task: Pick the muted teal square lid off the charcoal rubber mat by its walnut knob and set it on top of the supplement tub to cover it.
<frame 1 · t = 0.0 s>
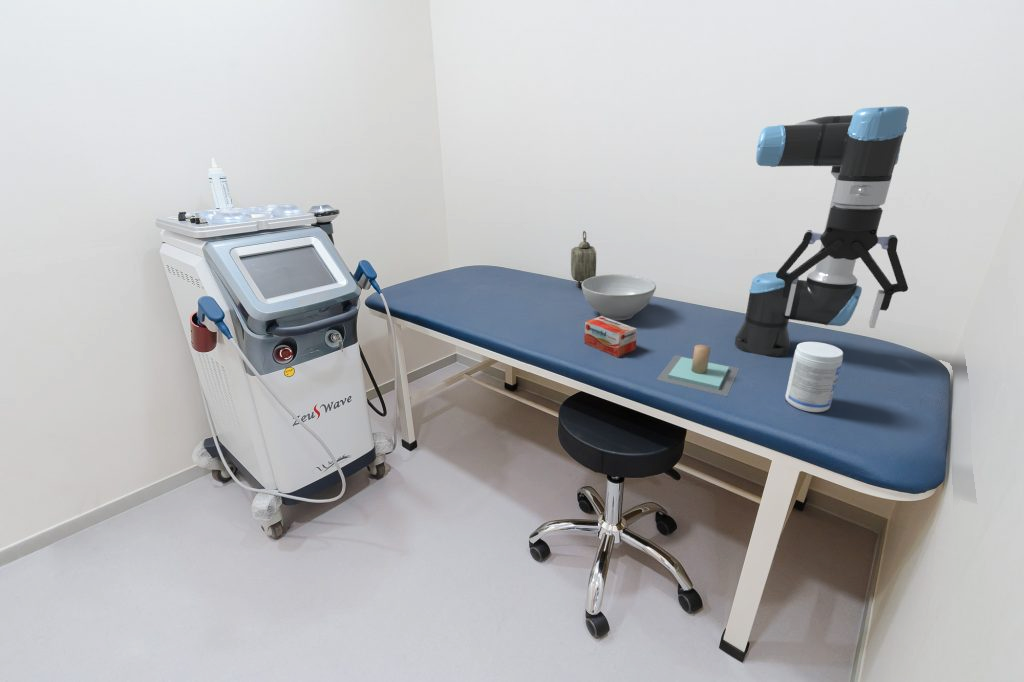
hand: (827, 319, 89), 28 cm above the table, tool pointing down, fingers open, 13 cm apart
medicine box: (608, 348, 148), on the table
supplement tub: (806, 404, 114), on the table
decorative bowl: (616, 315, 175), on the table
grey hanging weight: (582, 287, 209), on the table
lid: (698, 373, 128), resting on mat
mat: (698, 375, 129), on the table
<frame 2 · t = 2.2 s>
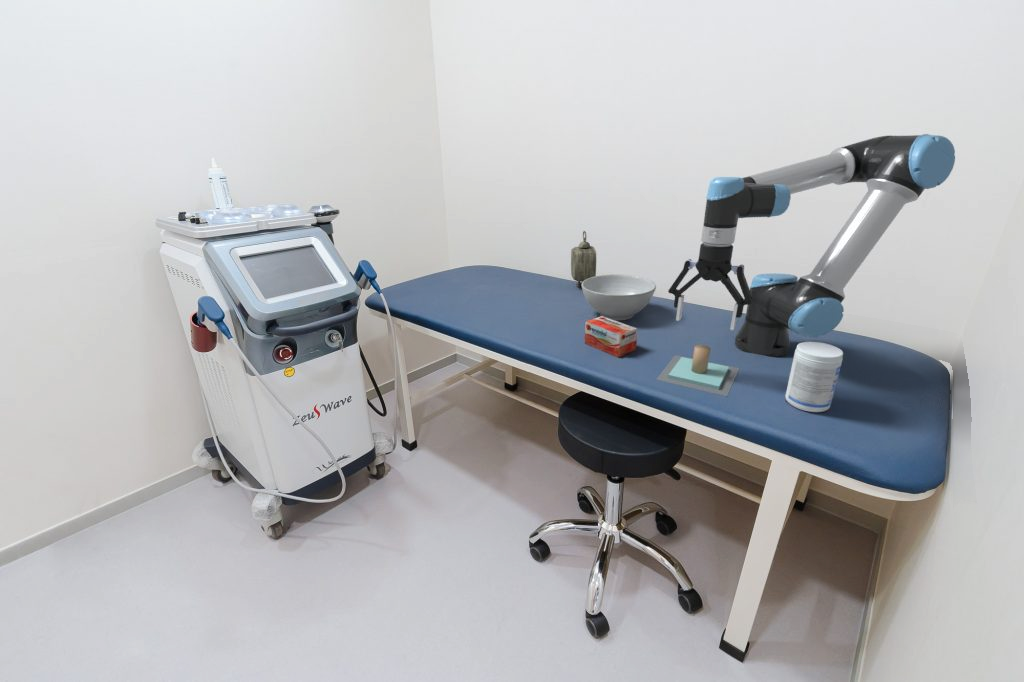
hand: (704, 323, 122), 15 cm above the table, tool pointing down, fingers open, 13 cm apart
nothing on the table moved.
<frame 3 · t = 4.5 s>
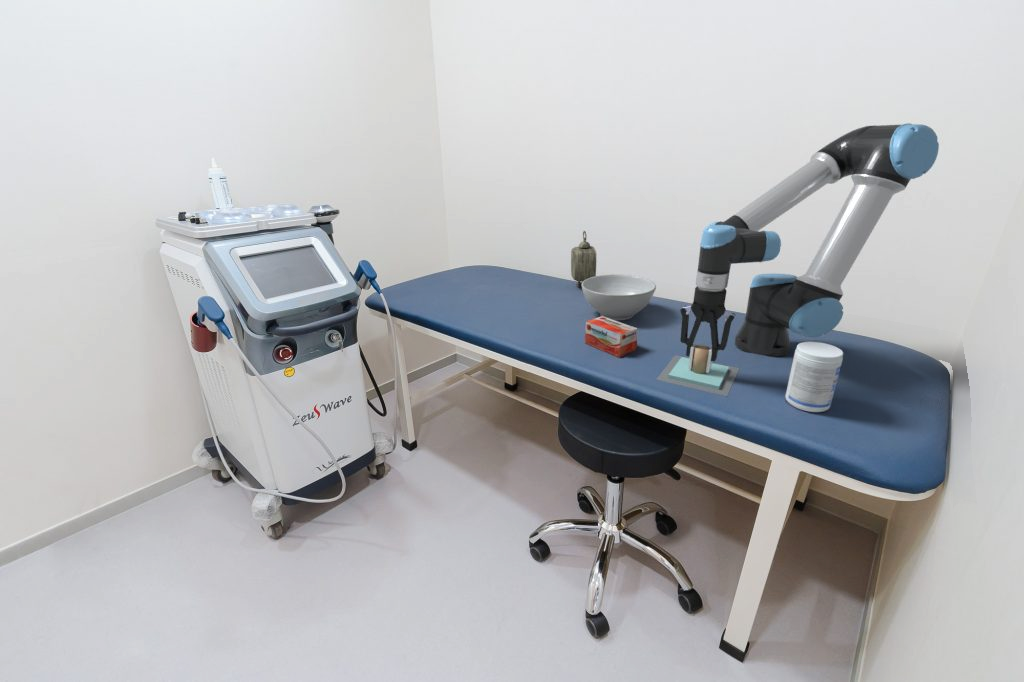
hand: (699, 368, 128), 2 cm above the table, tool pointing down, fingers closed on lid, 4 cm apart
lid: (698, 373, 128), resting on mat, touching gripper
everything else where it was.
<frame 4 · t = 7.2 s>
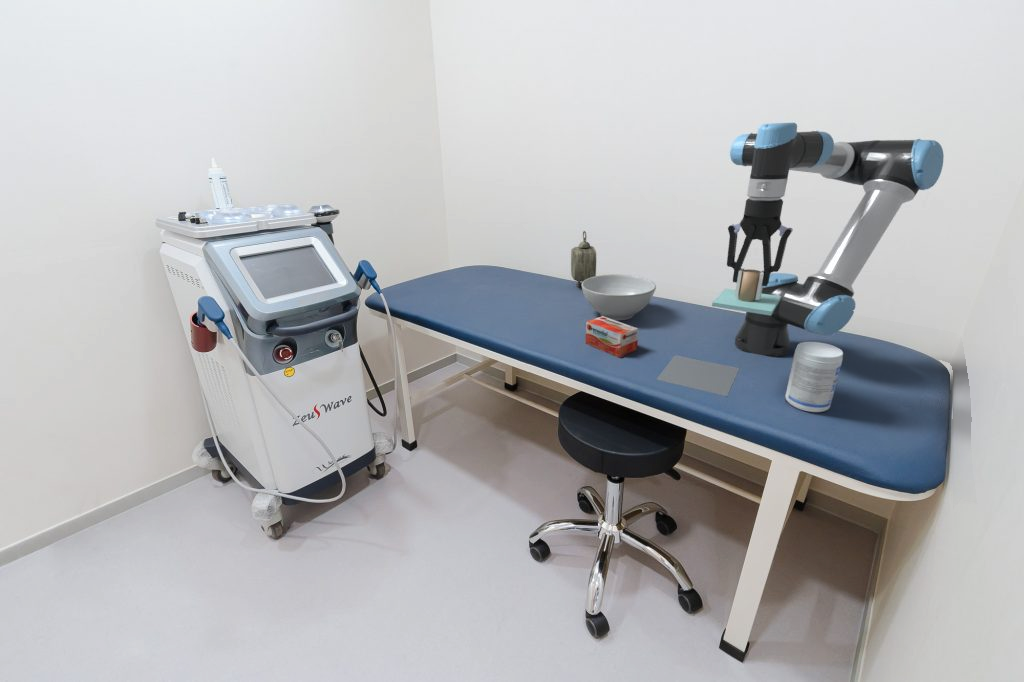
hand: (747, 296, 114), 25 cm above the table, tool pointing down, fingers closed on lid, 4 cm apart
lid: (746, 303, 114), point 23 cm above the table, touching gripper
everything else where it was.
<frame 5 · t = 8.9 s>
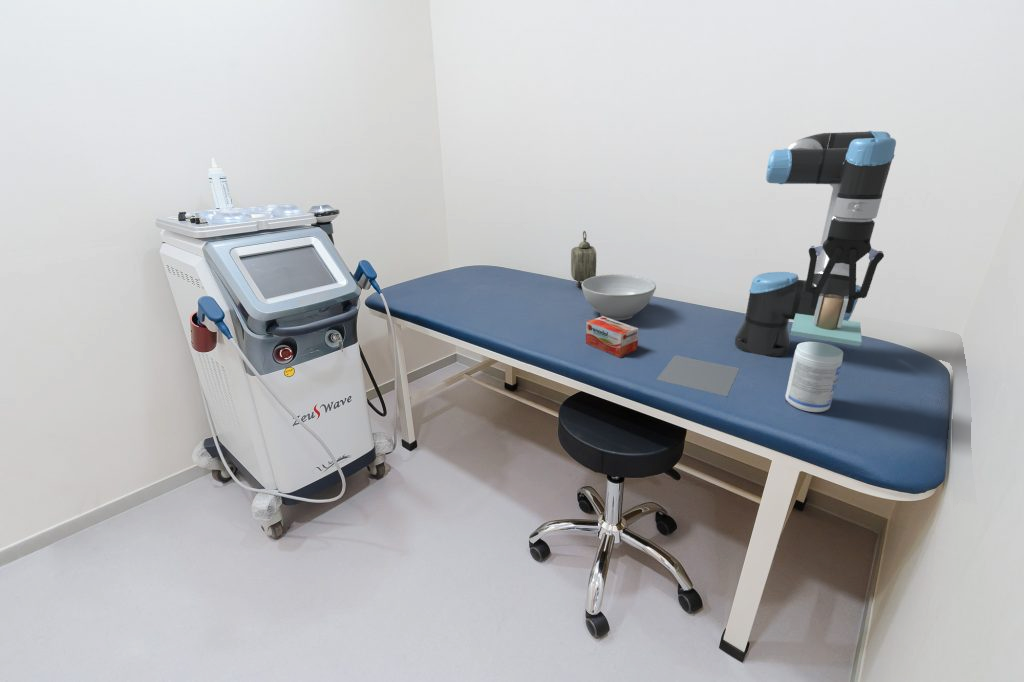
hand: (826, 323, 105), 21 cm above the table, tool pointing down, fingers closed on lid, 4 cm apart
lid: (825, 330, 106), point 19 cm above the table, touching gripper
everything else where it was.
when the fingers open (19 cm above the table, at t = 10.2 s): lid drops 2 cm, resting on supplement tub.
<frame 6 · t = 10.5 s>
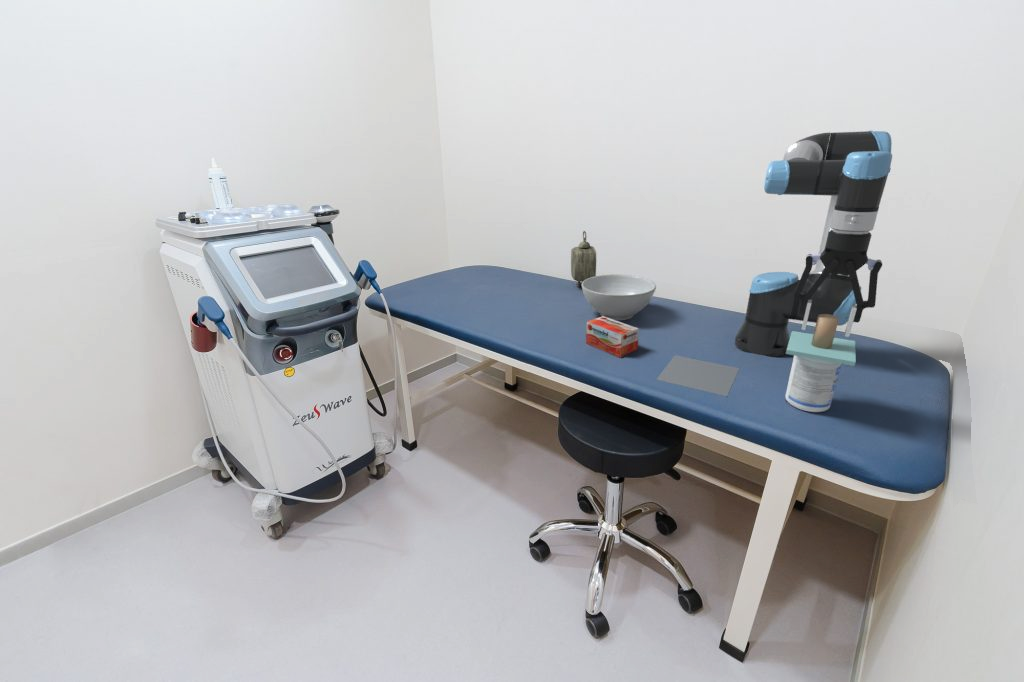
hand: (824, 331, 106), 19 cm above the table, tool pointing down, fingers open, 8 cm apart
supplement tub: (806, 404, 114), on the table, touching lid
lid: (820, 349, 108), point 15 cm above the table, touching supplement tub
everything else where it was.
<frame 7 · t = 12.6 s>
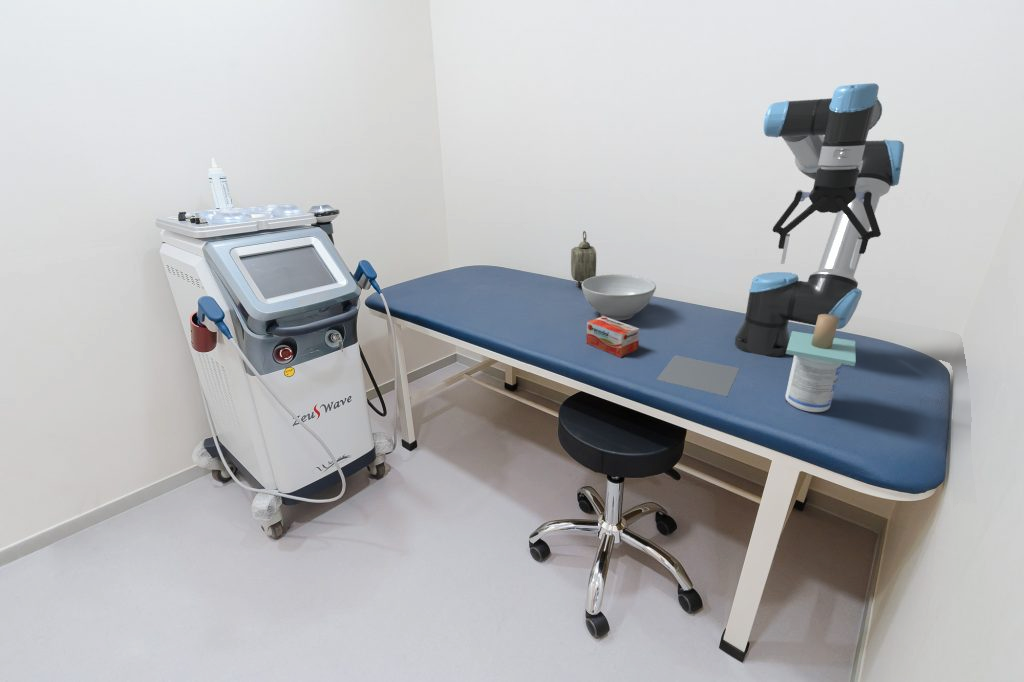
hand: (816, 265, 107), 33 cm above the table, tool pointing down, fingers open, 13 cm apart
nothing on the table moved.
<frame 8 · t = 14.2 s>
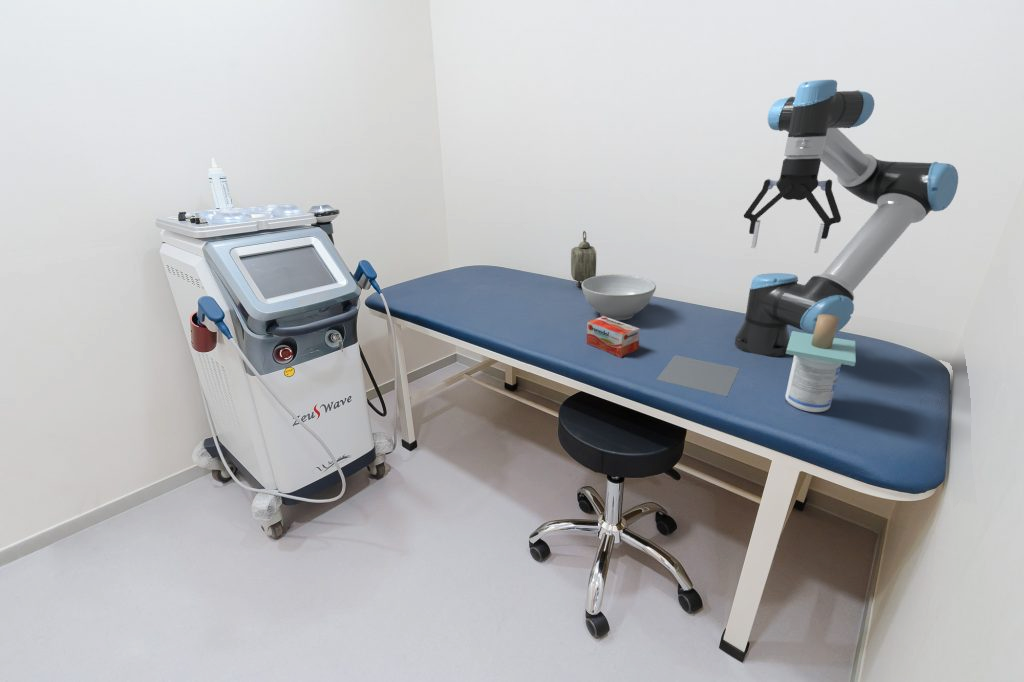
hand: (783, 249, 114), 35 cm above the table, tool pointing down, fingers open, 13 cm apart
nothing on the table moved.
at the end: lid 0.1 cm off-centre on the supplement tub, point 14.9 cm above the supplement tub's base; supplement tub tilted 0°; the gripper is holding nothing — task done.
